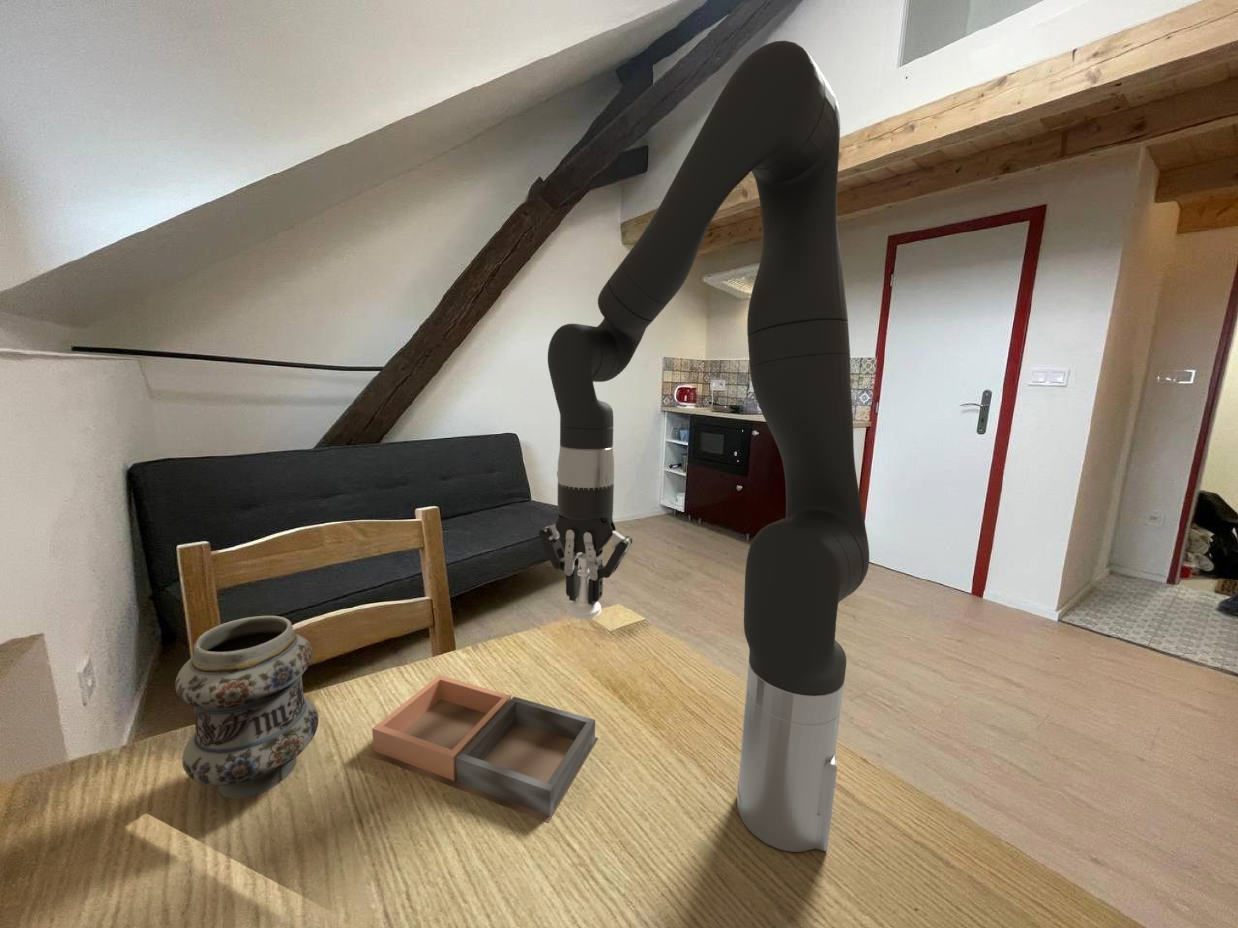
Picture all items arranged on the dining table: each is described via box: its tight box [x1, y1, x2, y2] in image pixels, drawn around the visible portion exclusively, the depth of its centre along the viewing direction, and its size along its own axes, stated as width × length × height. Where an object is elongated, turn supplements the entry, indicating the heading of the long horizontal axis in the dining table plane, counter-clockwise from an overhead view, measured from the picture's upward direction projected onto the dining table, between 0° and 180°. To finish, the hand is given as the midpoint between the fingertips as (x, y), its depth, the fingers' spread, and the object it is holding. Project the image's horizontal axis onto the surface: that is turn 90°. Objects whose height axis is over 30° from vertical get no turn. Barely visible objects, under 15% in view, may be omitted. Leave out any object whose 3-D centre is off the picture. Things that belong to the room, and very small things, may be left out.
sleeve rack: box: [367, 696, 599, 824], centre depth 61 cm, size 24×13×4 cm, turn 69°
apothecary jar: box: [174, 615, 320, 800], centre depth 55 cm, size 12×12×18 cm
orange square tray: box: [371, 674, 512, 781], centre depth 63 cm, size 12×12×3 cm
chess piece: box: [565, 553, 603, 620], centre depth 70 cm, size 5×5×10 cm
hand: (583, 599), depth 70 cm, fingers closed on chess piece, 2 cm apart
